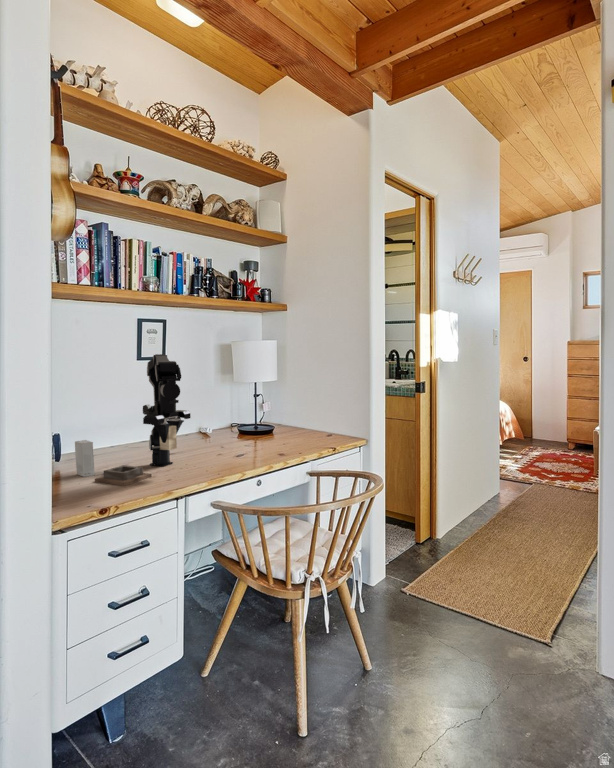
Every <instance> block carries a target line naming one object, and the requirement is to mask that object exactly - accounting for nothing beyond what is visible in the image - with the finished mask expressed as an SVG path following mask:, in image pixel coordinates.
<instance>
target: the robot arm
mask: <svg viewBox="0 0 614 768" xmlns="http://www.w3.org/2000/svg"><path fill="white" fill-rule="evenodd" d="M181 373H182V371H181V367H180V366H179V364H177V361H175V360H169V358H168V354H167V355H166V354H163V353H162V354H158V353H157V354H156V353H155V354H153V356H152V358H151V359H150V360H149V361H147V367H146V375H147V377H148V381H149V383H150V385H151V386H152V388H153V404H154V405H150V404H149V403H148V404H145V405H143V406H142V414H143V415H144V417H143V418H142V422H143V423H142V425H150V426H153V427H152V429H151V431H150V432H151V433H150V435H149V441H148V442H149V443H148V446H149V447H148V448H149V451H152V454H151V460H152V462H151V463H149V466H155V467H165V466H168V465H171V464H174V461H171V460H170V459H171V458H170V453H171V450H161V449H160V437H161V440H162V442H163V443H165V442H166V439H167V435H168V429H169V425H172V426H176V435H178V432H179V430H180V428H181V426H182V424H183V423H184V422H185V420H189V419H191V412H190V411H189V410H182V409H178V410H177V404H178V403H179V399H178V397H179V396H180V394H181V389H180V388H181V387H180V386H179V385H178V384H177V382H180V381H181V379H182V374H181ZM183 419H184V420H183Z"/></svg>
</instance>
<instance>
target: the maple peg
mask: <svg viewBox="0 0 614 768" xmlns="http://www.w3.org/2000/svg"><path fill="white" fill-rule="evenodd" d="M160 449H161V450H170V451H172V450H175V449H177V434H176V426H172V425H169V429H168V435H167V439H166V442H165V443H163V442H162V440H161V437H160Z"/></svg>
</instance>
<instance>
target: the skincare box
mask: <svg viewBox="0 0 614 768" xmlns="http://www.w3.org/2000/svg"><path fill="white" fill-rule="evenodd" d="M74 453H75V467H76V469H75V470H76V475H78V476H81V477H83V478H86V477H92V476H95V474H96V473H95V460H94V459H95V458H94V457H95V456H94V442H93V441H92V440H91V441H90V440H87V439H83V440H77V441H74Z"/></svg>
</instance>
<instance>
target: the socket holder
mask: <svg viewBox="0 0 614 768" xmlns="http://www.w3.org/2000/svg"><path fill="white" fill-rule="evenodd" d="M152 476H153V475H152V473H148V472H144V468H143V467H142V466H141V467H140V466H132V465H126V464H125V465H124V464H123V465H119V466H115V467H113V468H108V469H105V470H103V475H102V476H100V477H96V478H94V483H95V482H96V483H102V484H110V485H116V486H123V487H126V486H128V485H131V484H134V483H137V482H139V481H143V480H147V479H149V478H152Z"/></svg>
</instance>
